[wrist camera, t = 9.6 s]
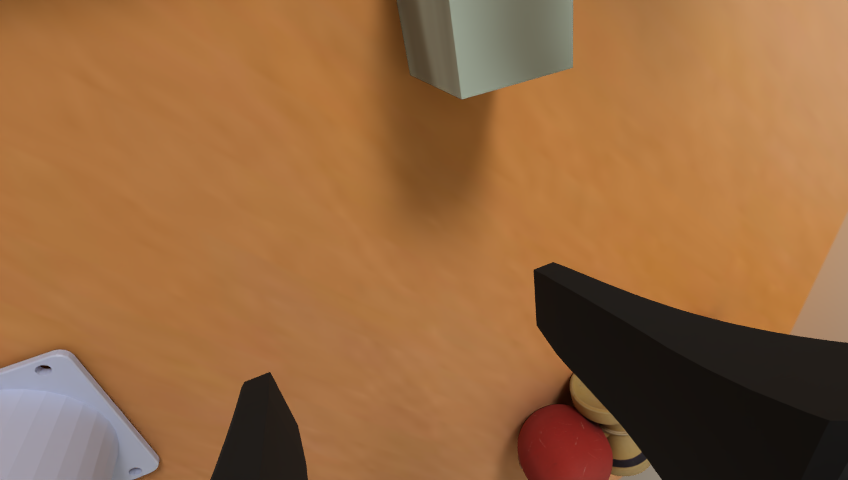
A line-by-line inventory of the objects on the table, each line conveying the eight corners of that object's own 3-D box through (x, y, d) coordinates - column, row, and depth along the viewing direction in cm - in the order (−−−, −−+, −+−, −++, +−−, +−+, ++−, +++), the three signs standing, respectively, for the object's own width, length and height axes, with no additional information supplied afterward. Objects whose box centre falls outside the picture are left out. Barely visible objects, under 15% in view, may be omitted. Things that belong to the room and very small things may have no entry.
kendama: (690, 271, 33) (494, 416, 29) (781, 328, 29) (567, 509, 24) (672, 331, 38) (504, 461, 34) (746, 386, 34) (565, 544, 30)
